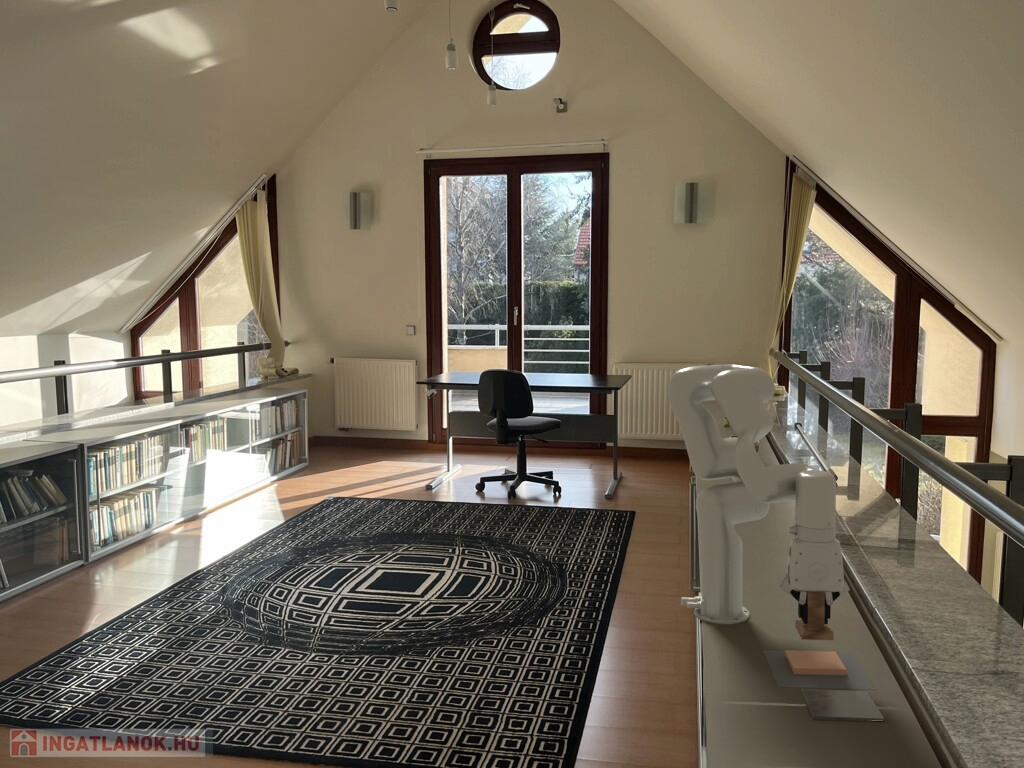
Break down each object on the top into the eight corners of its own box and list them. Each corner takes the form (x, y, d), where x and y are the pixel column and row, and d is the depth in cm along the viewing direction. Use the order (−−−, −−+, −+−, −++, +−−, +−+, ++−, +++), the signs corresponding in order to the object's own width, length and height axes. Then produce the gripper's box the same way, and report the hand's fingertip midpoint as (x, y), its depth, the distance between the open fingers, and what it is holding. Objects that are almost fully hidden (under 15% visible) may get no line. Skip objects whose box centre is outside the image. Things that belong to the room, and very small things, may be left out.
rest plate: (813, 719, 143) (813, 716, 143) (800, 692, 153) (800, 689, 153) (884, 721, 142) (884, 718, 142) (866, 694, 152) (866, 691, 151)
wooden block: (801, 639, 160) (802, 588, 159) (795, 627, 166) (795, 577, 165) (833, 640, 159) (834, 589, 158) (825, 627, 165) (826, 578, 164)
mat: (777, 688, 155) (777, 686, 155) (762, 652, 170) (762, 650, 170) (876, 691, 152) (876, 689, 152) (851, 654, 168) (851, 652, 168)
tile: (785, 656, 167) (793, 674, 159) (785, 650, 167) (793, 667, 159) (835, 658, 166) (846, 676, 158) (835, 651, 166) (846, 669, 158)
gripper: (776, 538, 158) (775, 628, 160) (863, 539, 156) (862, 630, 158) (769, 527, 165) (768, 613, 167) (852, 527, 163) (851, 615, 165)
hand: (814, 620), depth 162 cm, fingers closed on wooden block, 3 cm apart
